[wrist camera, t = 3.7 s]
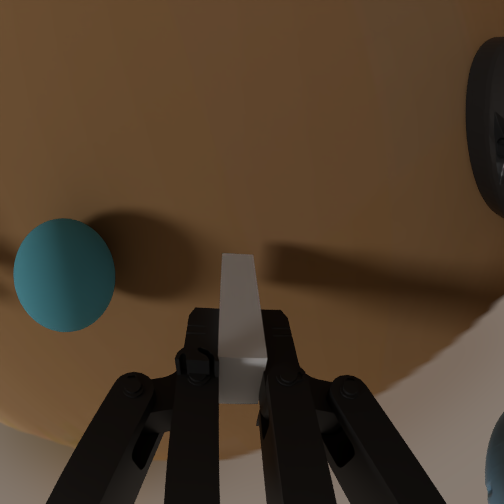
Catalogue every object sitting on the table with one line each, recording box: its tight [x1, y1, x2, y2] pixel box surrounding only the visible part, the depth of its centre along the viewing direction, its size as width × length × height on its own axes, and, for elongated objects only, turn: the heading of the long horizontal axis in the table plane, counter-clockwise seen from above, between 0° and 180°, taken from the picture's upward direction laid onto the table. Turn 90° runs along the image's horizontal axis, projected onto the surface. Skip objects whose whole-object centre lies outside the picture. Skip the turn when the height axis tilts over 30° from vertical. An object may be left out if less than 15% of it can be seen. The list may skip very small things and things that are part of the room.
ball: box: [14, 218, 115, 332], centre depth 13 cm, size 6×6×6 cm
